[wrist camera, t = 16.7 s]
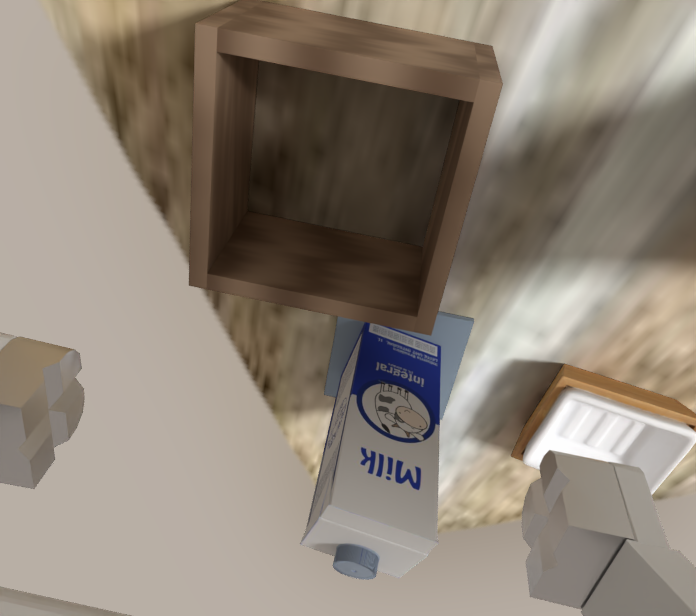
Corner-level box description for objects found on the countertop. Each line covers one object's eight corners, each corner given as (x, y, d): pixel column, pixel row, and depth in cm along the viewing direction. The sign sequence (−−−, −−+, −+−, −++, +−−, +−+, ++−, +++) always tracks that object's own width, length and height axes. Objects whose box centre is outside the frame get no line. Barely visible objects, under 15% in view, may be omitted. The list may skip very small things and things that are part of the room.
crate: (492, 46, 42) (502, 84, 34) (434, 263, 51) (431, 335, 43) (245, -3, 42) (195, 23, 34) (231, 221, 51) (189, 285, 43)
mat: (473, 318, 53) (473, 321, 53) (442, 416, 59) (442, 419, 59) (342, 291, 53) (341, 294, 53) (324, 391, 59) (323, 394, 59)
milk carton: (443, 346, 54) (440, 546, 38) (412, 401, 58) (397, 606, 41) (364, 317, 54) (326, 507, 37) (338, 374, 58) (293, 571, 41)
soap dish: (694, 392, 54) (714, 434, 50) (633, 468, 60) (647, 512, 56) (555, 348, 54) (564, 386, 50) (507, 428, 59) (511, 469, 55)
